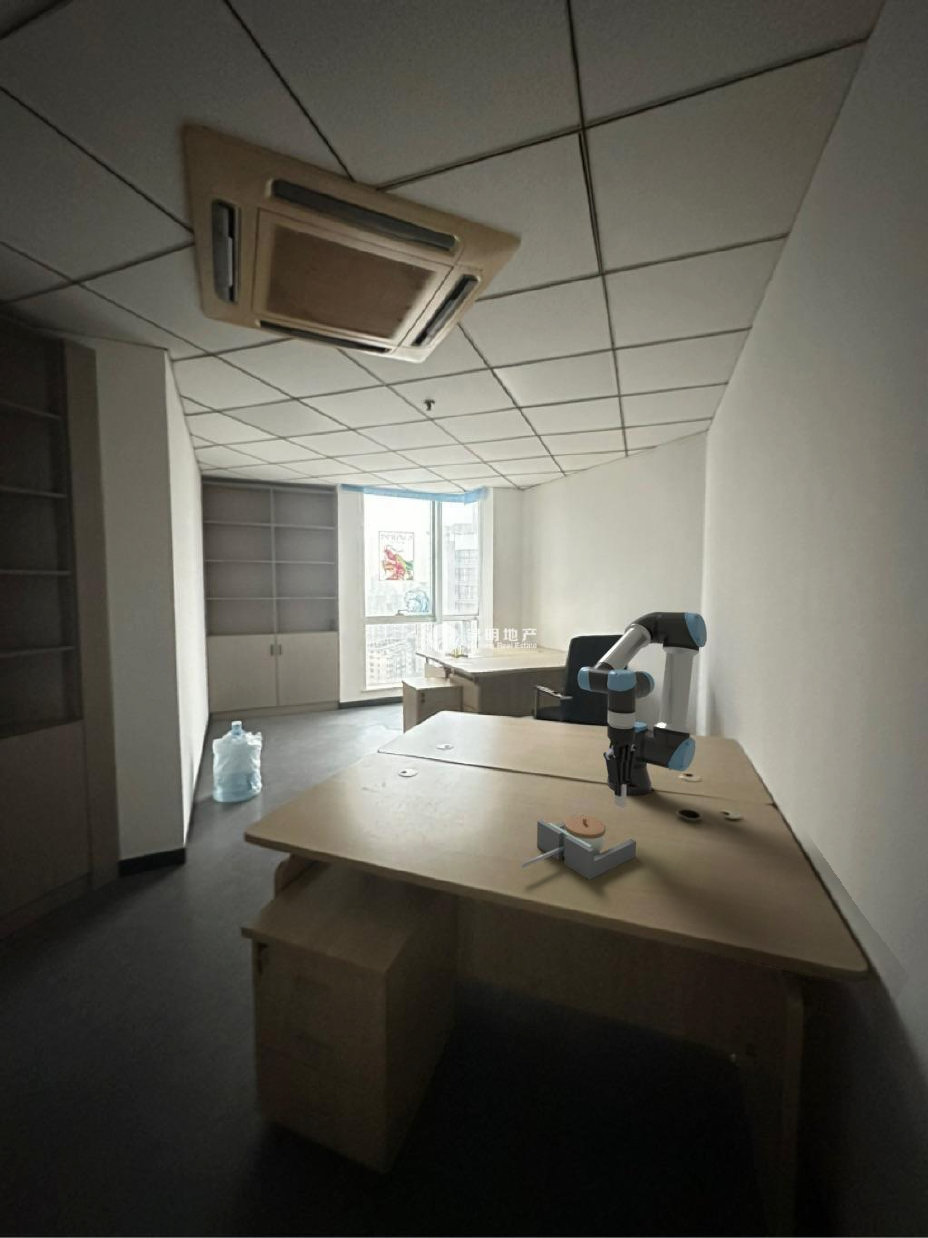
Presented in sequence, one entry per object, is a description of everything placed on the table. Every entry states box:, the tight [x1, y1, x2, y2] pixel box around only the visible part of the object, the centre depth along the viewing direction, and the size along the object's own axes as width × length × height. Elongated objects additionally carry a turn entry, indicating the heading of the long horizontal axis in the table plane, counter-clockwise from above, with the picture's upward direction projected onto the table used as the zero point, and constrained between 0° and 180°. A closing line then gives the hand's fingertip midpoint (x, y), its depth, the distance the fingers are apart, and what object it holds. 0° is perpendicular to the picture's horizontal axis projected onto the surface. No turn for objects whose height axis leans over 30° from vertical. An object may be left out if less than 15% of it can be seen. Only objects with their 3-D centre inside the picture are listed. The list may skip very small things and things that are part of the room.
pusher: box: [520, 822, 592, 869], centre depth 114 cm, size 17×14×6 cm
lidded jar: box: [563, 814, 606, 856], centre depth 122 cm, size 11×11×9 cm
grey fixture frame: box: [536, 814, 637, 881], centre depth 122 cm, size 18×18×7 cm
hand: (620, 805), depth 131 cm, fingers closed
